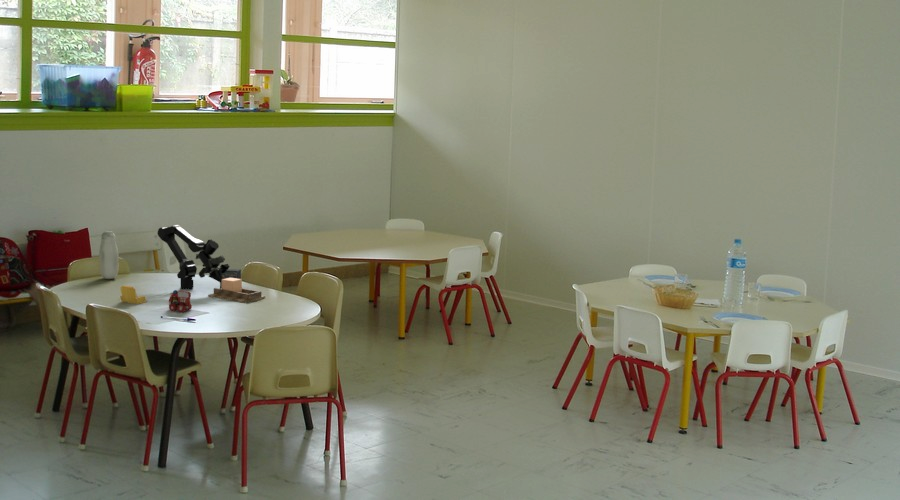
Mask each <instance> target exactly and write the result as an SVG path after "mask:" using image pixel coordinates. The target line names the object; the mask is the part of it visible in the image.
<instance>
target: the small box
mask: <svg viewBox="0 0 900 500" xmlns="http://www.w3.org/2000/svg"><path fill="white" fill-rule="evenodd" d="M241 272H242V269H239V268H228V269H227V271H226V272H225V273H222V278H223V279H226V278H237V279H242V273H241ZM219 289H222V283H220V282H219Z"/></svg>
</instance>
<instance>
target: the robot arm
mask: <svg viewBox="0 0 900 500" xmlns="http://www.w3.org/2000/svg"><path fill="white" fill-rule="evenodd" d="M157 236H158V238H159V239H160V240H161V241H163V242H164V243H166V244H167V246H168V248H169V249H170V250H171V253H172V254H173V255H174V258H175V259H176V260H177V262H178V264H179V267H178V268H179V271H178V273H177V274H176V276H177V278H178V279H180V288H179V289H180V290H193V288H194V279H193V278H195V277H196V275H197V270H198V268H197V264H195V261H194V260H193V259H188V258H187V256H186V255H185V253H184V252H183V249H182V248H181V247H180V245H179V243H178V242H177V240H176V236H177V237H178V238H180V239H181V240H182V241H183V242H185V243H186V245H187V246H188V249H189V250H190V251H191V252H192V253H196V254H195V255H196V256H195V260H200V262H201V263H202V268H201V270H200V271H199V272H198V276H199V277H200V278H201V279H203V278H205V277H206V275H207V274H208V278H211V279H213V280H215V281H217V282H219V284H220V283H222V279H223V278H222V273H225V272H226V271H227V269H230V267H231V266H230V264H228V263H224V261H225V260H226V258H225V256H224V255H219V256H218V257H217V256H216V257H213V256H212V255H213V254H214V253H215V252H217V250H218V249H219V244H218V243H217V242H216V241H215V240H213V239H211V238H210V239H207V240H206V242H204V241H203V240H201V239H199V238H195V237H194V236H192V235H191V234H190V233H189V232H188V231H186V230H185V229H184V228H182V226H181V225H180V224H174V225H170V226H163V227H159V228H158V229H157ZM221 263H222V264H221ZM220 264H221V265H220ZM205 274H206V275H205Z"/></svg>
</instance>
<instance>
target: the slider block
mask: <svg viewBox="0 0 900 500" xmlns="http://www.w3.org/2000/svg"><path fill="white" fill-rule="evenodd" d="M242 287H243V279H242V278H241V279H237V278H226V279H222V288H221V289H223V290H229V291H235V292H240V293H242Z"/></svg>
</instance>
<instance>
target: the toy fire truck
mask: <svg viewBox="0 0 900 500" xmlns="http://www.w3.org/2000/svg"><path fill="white" fill-rule="evenodd" d="M191 294H192V293H191V292H190V291H187V290H186V291H184V290H183V291H182V290H176V289H174V290H173V292H172V293H171V294H170V296H169V298H168V309H169V312H176V311H178V312H179V313H182V314H183V313H184V312H185V311H190V310H192V308H193V305H192V303H191V297H192V295H191Z"/></svg>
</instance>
